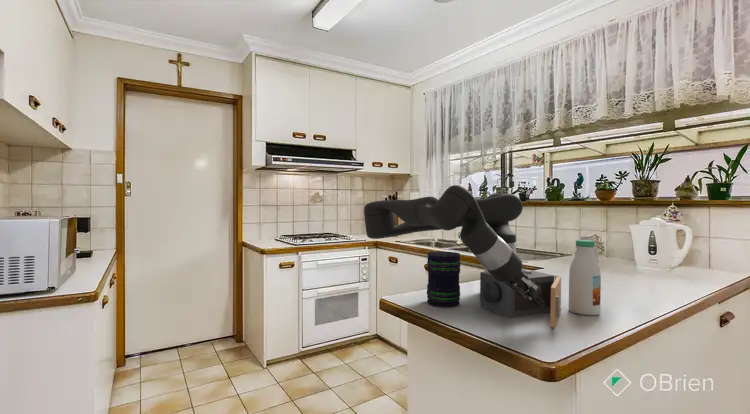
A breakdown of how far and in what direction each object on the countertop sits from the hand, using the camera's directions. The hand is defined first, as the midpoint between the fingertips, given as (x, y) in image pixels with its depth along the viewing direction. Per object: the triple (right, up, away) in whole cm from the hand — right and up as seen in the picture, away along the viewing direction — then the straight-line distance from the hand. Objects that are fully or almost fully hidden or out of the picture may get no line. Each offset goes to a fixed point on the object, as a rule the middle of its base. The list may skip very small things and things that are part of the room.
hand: (541, 306), depth 92 cm
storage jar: (-20, -5, +22) cm, 30 cm away
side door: (+7, -5, +6) cm, 10 cm away
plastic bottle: (+24, -5, +23) cm, 33 cm away
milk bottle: (+18, -5, +13) cm, 23 cm away
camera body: (-1, -5, +16) cm, 17 cm away
